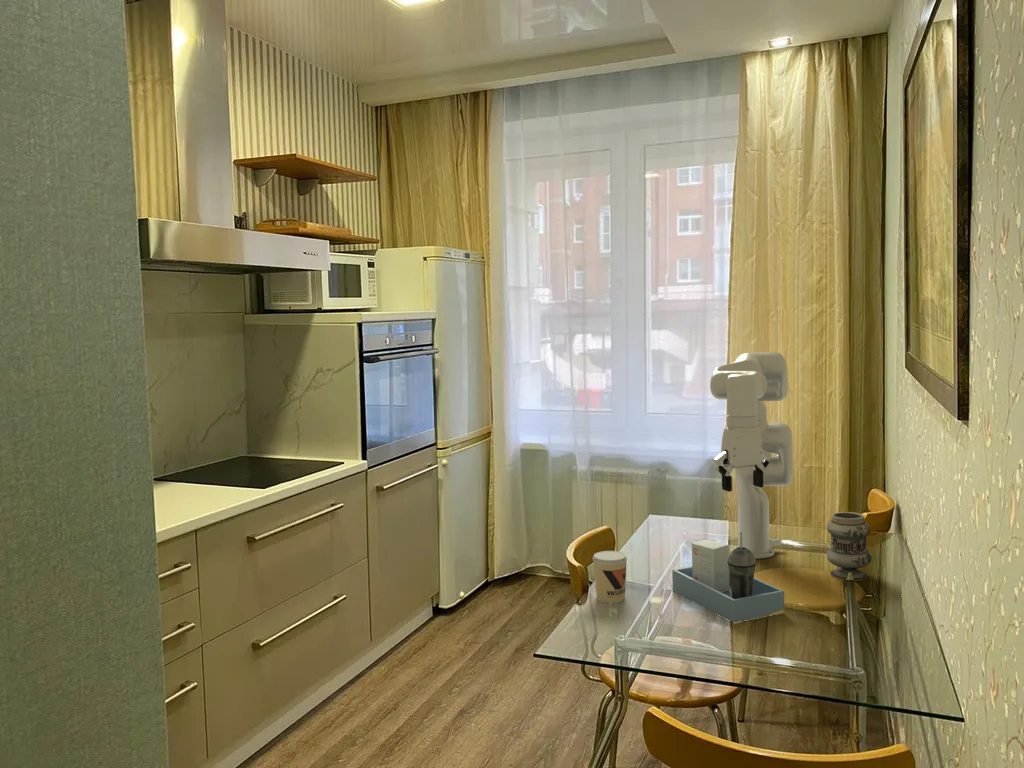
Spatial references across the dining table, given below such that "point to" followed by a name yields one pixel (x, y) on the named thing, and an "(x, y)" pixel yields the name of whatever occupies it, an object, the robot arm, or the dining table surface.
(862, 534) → the apothecary jar
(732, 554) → the beverage cup
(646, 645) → the dining table surface
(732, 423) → the robot arm
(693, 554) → the small box
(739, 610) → the tray
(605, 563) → the cream lidded tub
